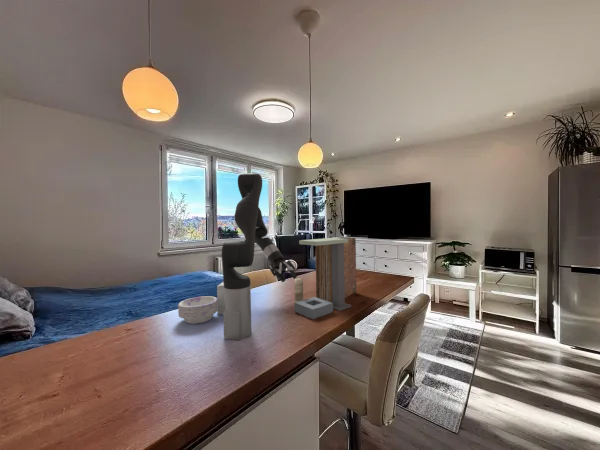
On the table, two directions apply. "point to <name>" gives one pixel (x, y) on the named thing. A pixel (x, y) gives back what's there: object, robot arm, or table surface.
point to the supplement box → (220, 298)
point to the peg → (298, 289)
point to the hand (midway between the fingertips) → (290, 279)
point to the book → (325, 270)
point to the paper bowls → (198, 309)
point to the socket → (313, 307)
